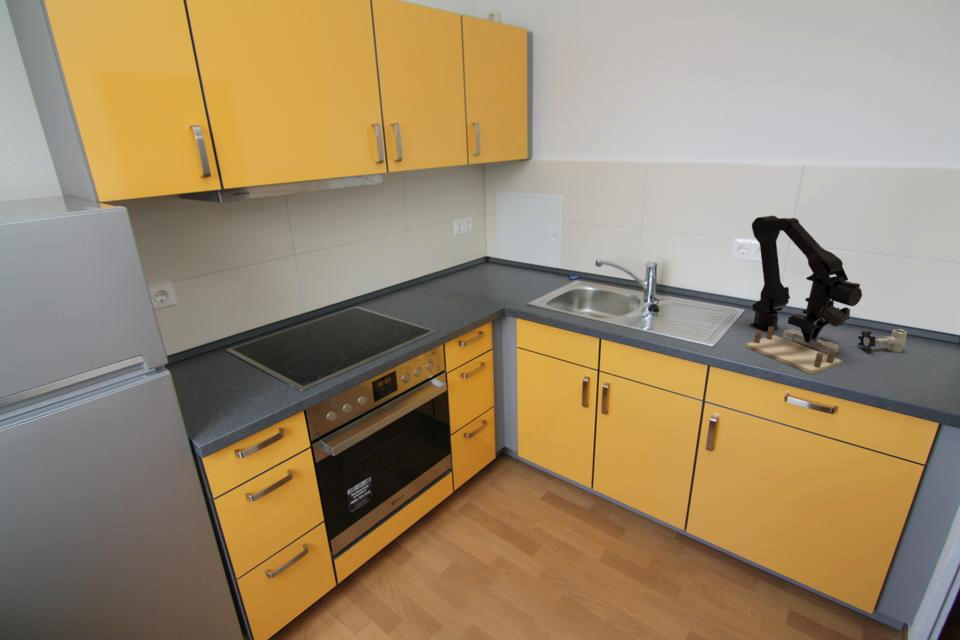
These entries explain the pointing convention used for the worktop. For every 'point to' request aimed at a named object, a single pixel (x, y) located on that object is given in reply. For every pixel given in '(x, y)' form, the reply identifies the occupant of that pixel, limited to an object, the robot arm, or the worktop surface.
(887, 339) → the valve
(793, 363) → the peg board
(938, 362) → the worktop surface
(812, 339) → the beige stepped post
